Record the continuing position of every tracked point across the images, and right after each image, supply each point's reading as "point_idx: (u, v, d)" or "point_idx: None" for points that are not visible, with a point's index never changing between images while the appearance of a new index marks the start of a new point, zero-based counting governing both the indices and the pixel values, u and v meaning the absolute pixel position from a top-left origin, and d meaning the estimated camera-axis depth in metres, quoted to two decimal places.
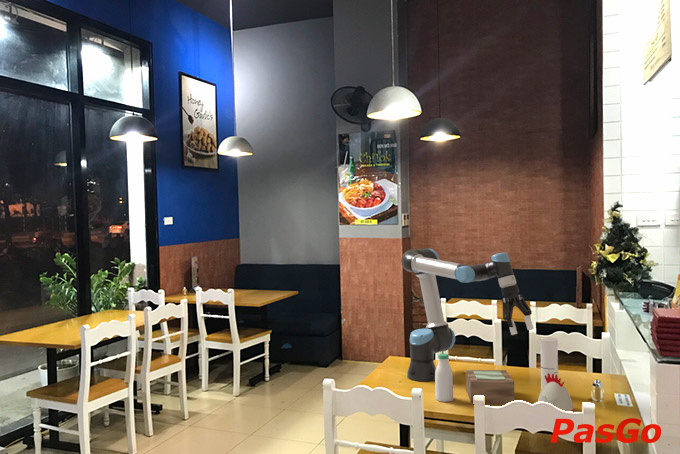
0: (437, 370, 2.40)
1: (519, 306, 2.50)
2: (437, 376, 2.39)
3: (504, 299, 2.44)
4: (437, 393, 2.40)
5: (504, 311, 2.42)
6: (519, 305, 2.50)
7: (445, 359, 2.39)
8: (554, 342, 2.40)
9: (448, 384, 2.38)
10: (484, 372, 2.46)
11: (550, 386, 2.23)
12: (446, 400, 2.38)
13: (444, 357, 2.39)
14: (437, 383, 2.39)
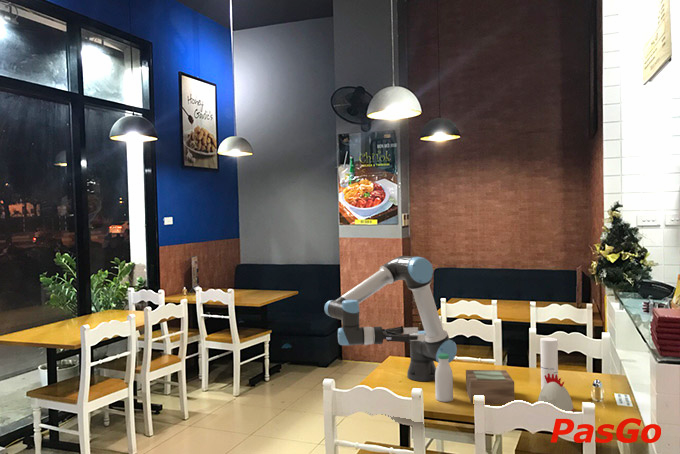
0: (437, 370, 2.40)
1: None
2: (437, 376, 2.39)
3: None
4: (437, 393, 2.40)
5: None
6: None
7: (445, 359, 2.39)
8: (554, 342, 2.40)
9: (448, 384, 2.38)
10: (484, 372, 2.46)
11: (550, 386, 2.23)
12: (446, 400, 2.38)
13: (444, 357, 2.39)
14: (437, 383, 2.39)
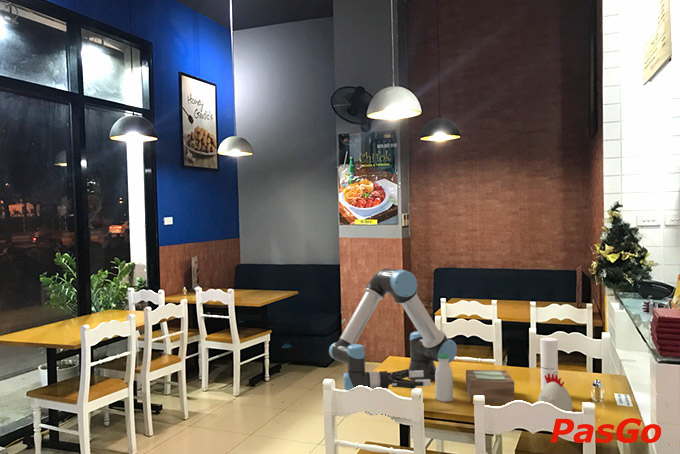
0: (437, 370, 2.40)
1: None
2: (437, 376, 2.39)
3: None
4: (437, 393, 2.40)
5: None
6: None
7: (445, 359, 2.39)
8: (554, 342, 2.40)
9: (448, 384, 2.38)
10: (484, 372, 2.46)
11: (550, 386, 2.23)
12: (446, 400, 2.38)
13: (444, 357, 2.39)
14: (437, 383, 2.39)
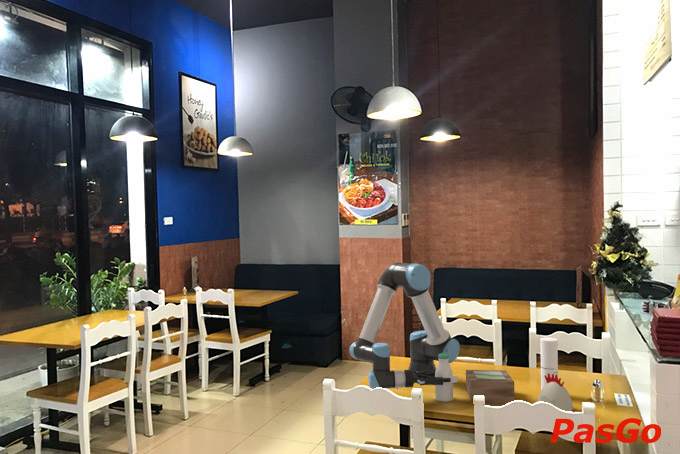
0: (437, 370, 2.40)
1: None
2: (437, 376, 2.39)
3: None
4: (437, 393, 2.40)
5: None
6: None
7: (445, 359, 2.39)
8: (554, 342, 2.40)
9: (448, 384, 2.38)
10: (484, 372, 2.46)
11: (550, 386, 2.23)
12: (446, 400, 2.38)
13: (444, 357, 2.39)
14: None
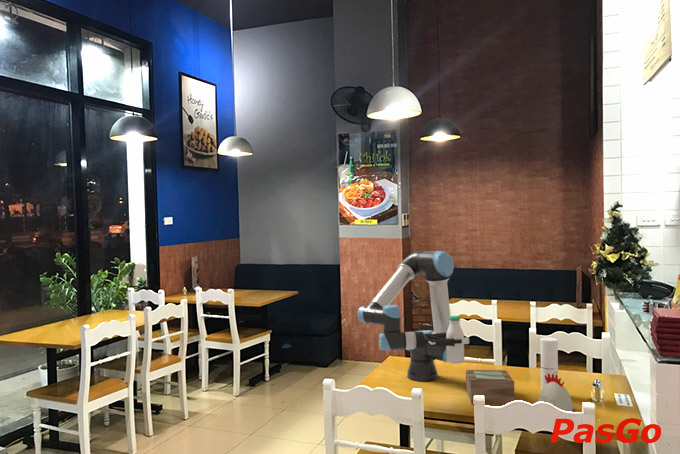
0: (448, 332, 2.38)
1: None
2: None
3: None
4: (448, 355, 2.38)
5: None
6: None
7: (456, 321, 2.37)
8: (554, 342, 2.40)
9: (459, 346, 2.36)
10: (484, 372, 2.46)
11: (550, 386, 2.23)
12: (457, 362, 2.36)
13: (455, 319, 2.37)
14: None
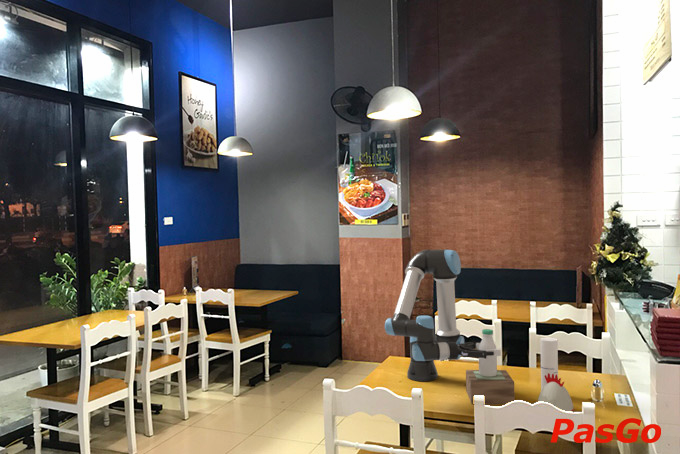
0: (481, 345, 2.41)
1: None
2: None
3: None
4: (481, 368, 2.40)
5: None
6: None
7: (490, 334, 2.40)
8: (554, 342, 2.40)
9: (492, 360, 2.38)
10: None
11: (550, 386, 2.23)
12: (490, 375, 2.39)
13: (489, 332, 2.40)
14: (481, 358, 2.40)
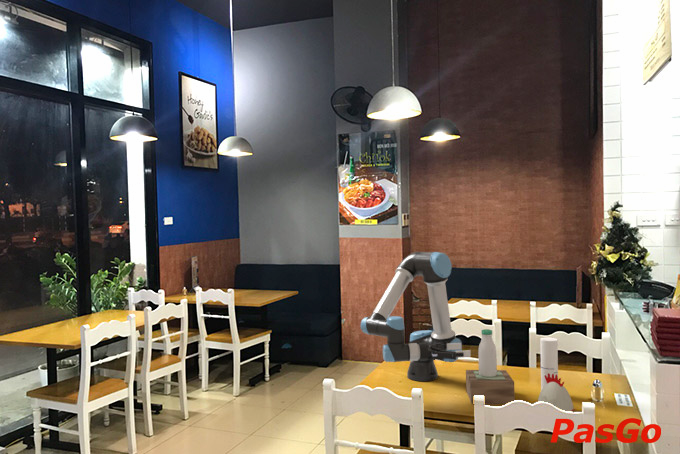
0: (481, 346, 2.41)
1: None
2: (481, 352, 2.40)
3: None
4: (481, 369, 2.40)
5: None
6: None
7: (489, 335, 2.40)
8: (554, 342, 2.40)
9: (492, 360, 2.38)
10: None
11: (550, 386, 2.23)
12: (490, 375, 2.38)
13: (488, 333, 2.40)
14: (481, 359, 2.40)
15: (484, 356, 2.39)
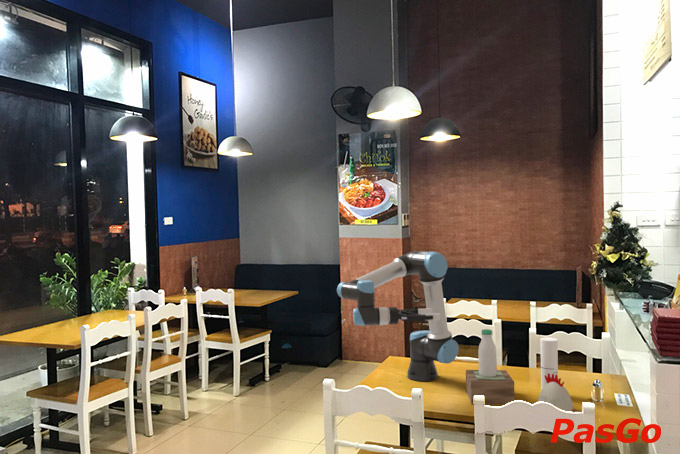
0: (481, 346, 2.41)
1: None
2: (481, 352, 2.40)
3: None
4: (481, 369, 2.40)
5: None
6: None
7: (489, 335, 2.40)
8: (554, 342, 2.40)
9: (492, 360, 2.38)
10: None
11: (550, 386, 2.23)
12: (490, 375, 2.39)
13: (488, 333, 2.40)
14: (481, 359, 2.40)
15: (484, 356, 2.39)
